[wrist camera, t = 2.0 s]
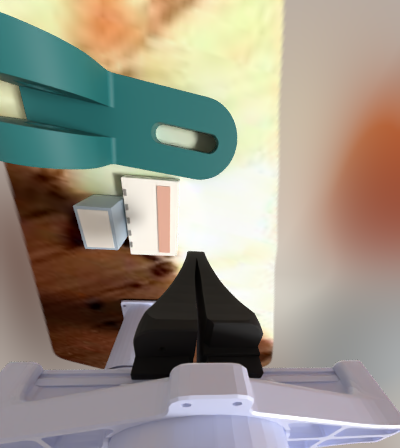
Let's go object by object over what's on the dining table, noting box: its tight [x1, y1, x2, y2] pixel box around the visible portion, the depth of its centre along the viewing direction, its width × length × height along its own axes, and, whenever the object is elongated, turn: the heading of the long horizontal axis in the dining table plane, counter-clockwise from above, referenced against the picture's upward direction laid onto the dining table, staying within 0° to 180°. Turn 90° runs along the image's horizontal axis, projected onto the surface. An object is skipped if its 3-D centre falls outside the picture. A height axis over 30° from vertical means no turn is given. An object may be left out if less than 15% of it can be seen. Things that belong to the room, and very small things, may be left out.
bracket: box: [0, 12, 237, 180], centre depth 13 cm, size 18×7×8 cm, turn 79°
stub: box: [73, 194, 128, 250], centre depth 18 cm, size 5×4×4 cm
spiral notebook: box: [121, 175, 180, 256], centre depth 20 cm, size 10×6×1 cm, turn 175°
